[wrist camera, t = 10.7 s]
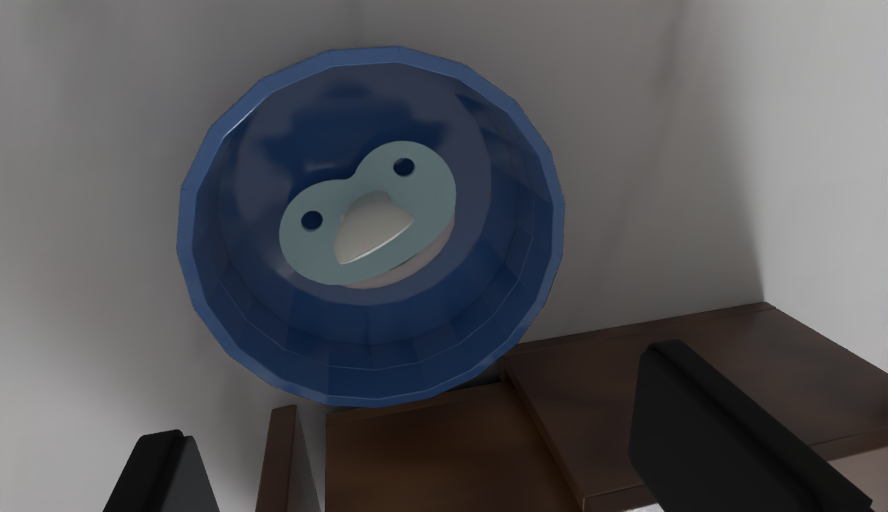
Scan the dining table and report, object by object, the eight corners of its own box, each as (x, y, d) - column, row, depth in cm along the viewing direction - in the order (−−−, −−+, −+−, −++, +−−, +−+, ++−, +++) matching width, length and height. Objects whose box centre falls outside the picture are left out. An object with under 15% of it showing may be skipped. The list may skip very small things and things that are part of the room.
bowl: (248, 369, 24) (231, 436, 20) (166, 59, 18) (118, 62, 14) (522, 324, 26) (557, 375, 22) (525, 37, 20) (573, 34, 16)
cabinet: (501, 522, 32) (574, 725, 22) (499, 347, 26) (594, 517, 17) (725, 469, 35) (875, 629, 25) (765, 301, 29) (977, 424, 20)
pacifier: (476, 229, 23) (416, 115, 20) (525, 292, 18) (451, 148, 15) (342, 307, 23) (264, 204, 20) (349, 393, 18) (242, 269, 15)
